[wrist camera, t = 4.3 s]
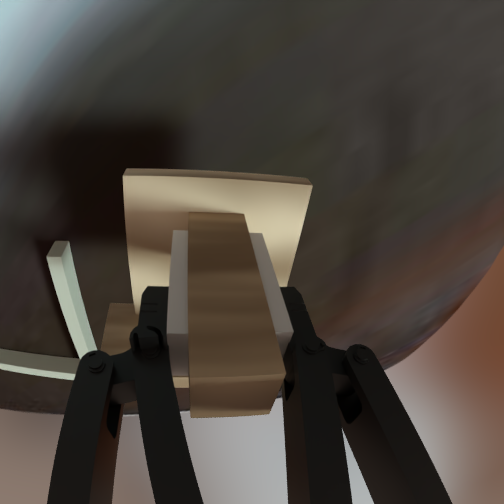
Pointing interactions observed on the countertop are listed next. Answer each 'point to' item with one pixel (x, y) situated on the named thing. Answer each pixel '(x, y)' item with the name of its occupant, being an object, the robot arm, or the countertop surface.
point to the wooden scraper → (214, 276)
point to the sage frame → (73, 315)
